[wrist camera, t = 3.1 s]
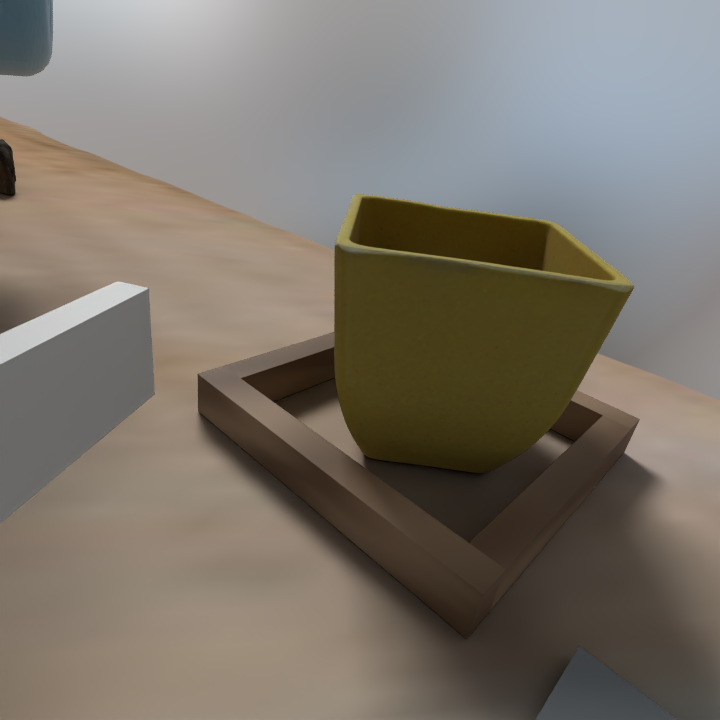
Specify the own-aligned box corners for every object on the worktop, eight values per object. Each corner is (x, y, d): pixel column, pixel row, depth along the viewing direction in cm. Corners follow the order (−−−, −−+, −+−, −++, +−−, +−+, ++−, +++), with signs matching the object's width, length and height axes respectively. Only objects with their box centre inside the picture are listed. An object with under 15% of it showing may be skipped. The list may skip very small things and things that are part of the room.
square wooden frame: (198, 411, 21) (197, 373, 21) (398, 338, 31) (403, 310, 30) (466, 638, 14) (483, 594, 13) (624, 451, 23) (639, 419, 22)
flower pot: (304, 485, 18) (332, 239, 14) (330, 370, 26) (354, 189, 22) (545, 521, 18) (643, 287, 14) (500, 396, 26) (555, 220, 22)
